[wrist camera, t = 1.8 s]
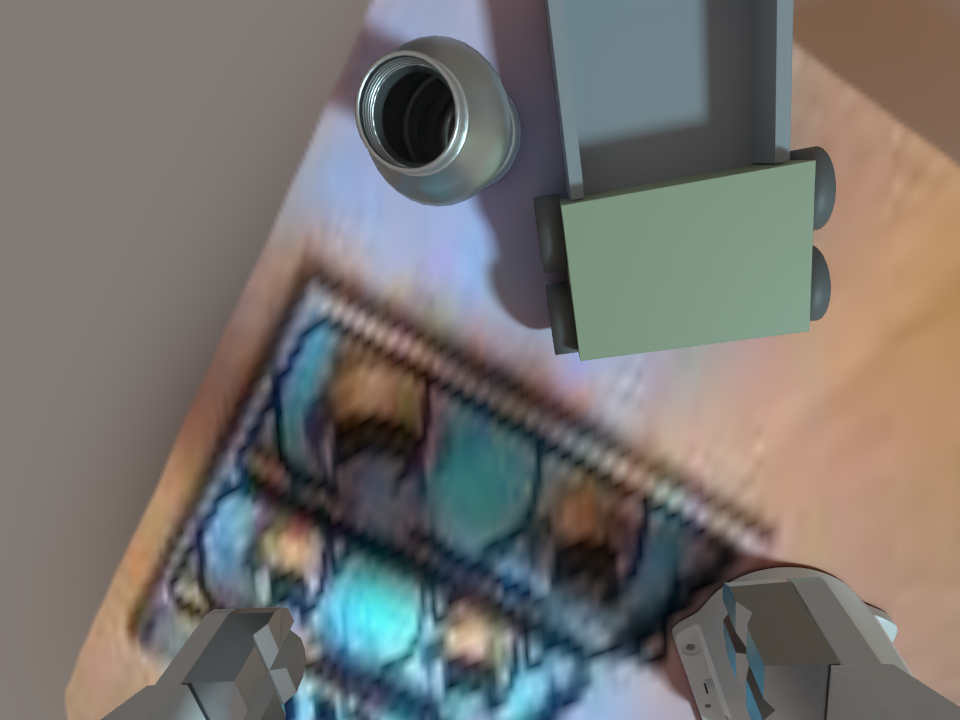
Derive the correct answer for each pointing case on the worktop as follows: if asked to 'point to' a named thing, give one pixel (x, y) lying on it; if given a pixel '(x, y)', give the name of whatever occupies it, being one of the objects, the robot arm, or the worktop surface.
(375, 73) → the silver metal bottle
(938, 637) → the worktop surface
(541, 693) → the worktop surface
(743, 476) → the worktop surface
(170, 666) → the robot arm
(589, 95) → the toy pickup truck
